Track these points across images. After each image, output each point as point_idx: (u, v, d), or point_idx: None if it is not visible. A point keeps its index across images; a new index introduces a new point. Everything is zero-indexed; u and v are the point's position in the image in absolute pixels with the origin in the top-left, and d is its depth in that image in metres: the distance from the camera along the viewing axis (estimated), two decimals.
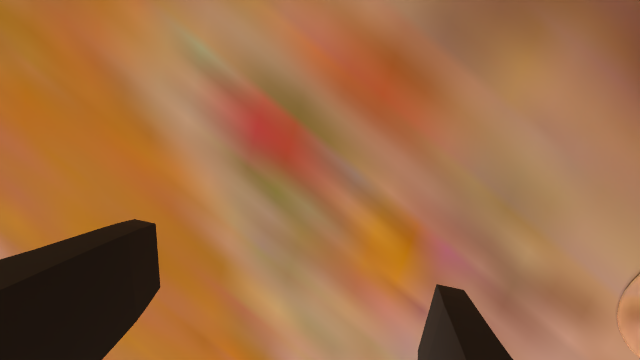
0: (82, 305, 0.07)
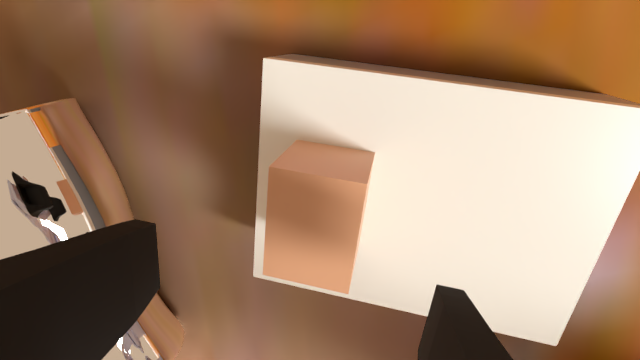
0: (82, 305, 0.07)
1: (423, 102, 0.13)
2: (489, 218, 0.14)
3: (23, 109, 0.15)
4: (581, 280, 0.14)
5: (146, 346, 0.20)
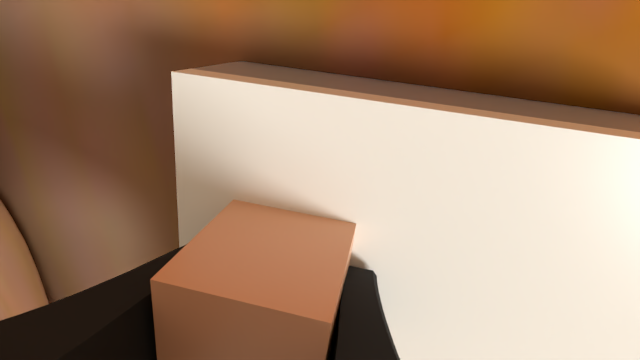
0: None
1: (436, 148, 0.07)
2: (541, 329, 0.08)
3: None
4: None
5: None
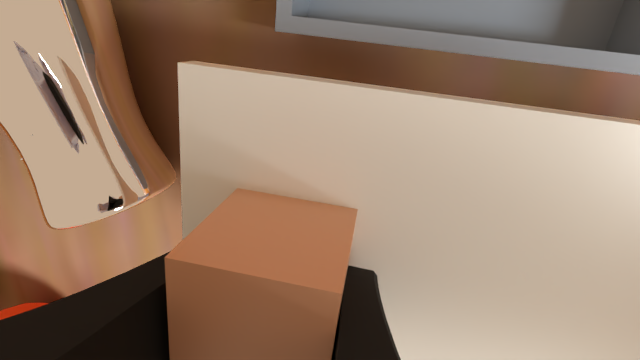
0: None
1: (433, 133, 0.08)
2: (534, 308, 0.09)
3: None
4: None
5: (123, 163, 0.16)
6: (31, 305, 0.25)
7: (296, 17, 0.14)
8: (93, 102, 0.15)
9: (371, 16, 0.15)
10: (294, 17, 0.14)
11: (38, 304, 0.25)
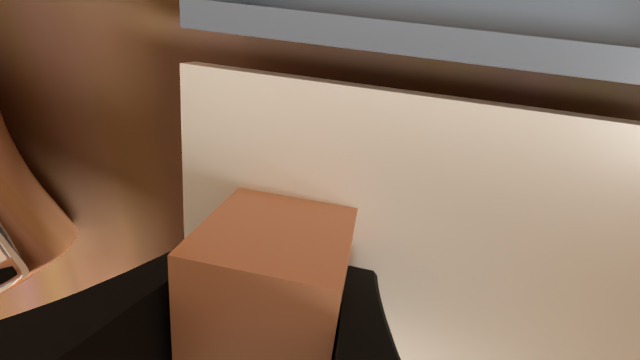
0: None
1: (433, 133, 0.08)
2: (532, 306, 0.09)
3: None
4: None
5: None
6: None
7: (214, 3, 0.08)
8: None
9: (352, 4, 0.09)
10: (211, 3, 0.08)
11: None
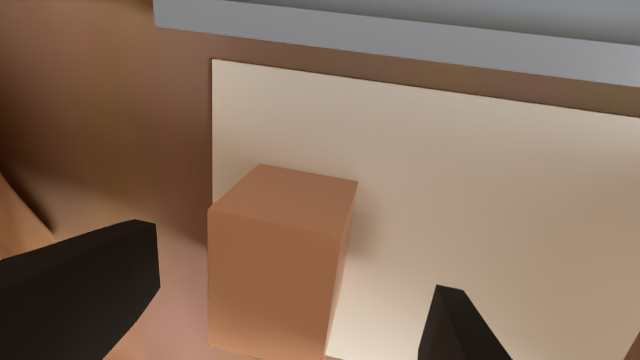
0: (82, 305, 0.07)
1: (420, 118, 0.10)
2: (506, 266, 0.11)
3: None
4: (623, 345, 0.11)
5: None
6: None
7: None
8: None
9: (346, 1, 0.09)
10: None
11: None
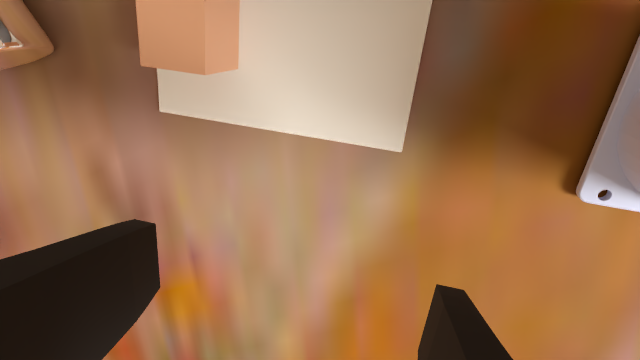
0: (82, 305, 0.07)
1: None
2: (334, 30, 0.16)
3: None
4: (411, 83, 0.17)
5: None
6: None
7: None
8: None
9: None
10: None
11: None
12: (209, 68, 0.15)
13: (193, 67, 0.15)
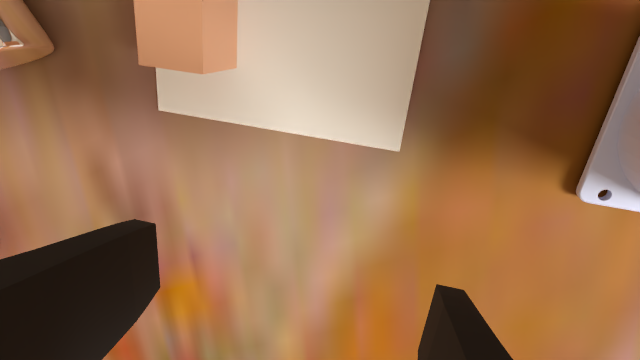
0: (81, 305, 0.07)
1: None
2: (331, 29, 0.16)
3: None
4: (408, 83, 0.17)
5: None
6: None
7: None
8: None
9: None
10: None
11: None
12: (207, 67, 0.15)
13: (191, 66, 0.15)
